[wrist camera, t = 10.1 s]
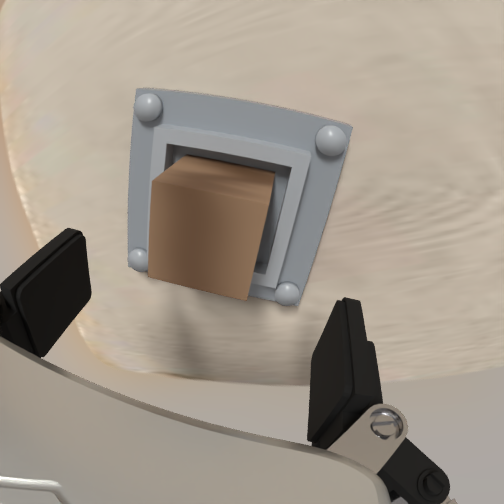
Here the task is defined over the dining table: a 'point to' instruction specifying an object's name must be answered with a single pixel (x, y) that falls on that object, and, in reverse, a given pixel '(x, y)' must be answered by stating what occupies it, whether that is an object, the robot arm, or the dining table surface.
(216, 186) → the walnut cube
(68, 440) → the robot arm
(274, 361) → the dining table surface
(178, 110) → the base plate
